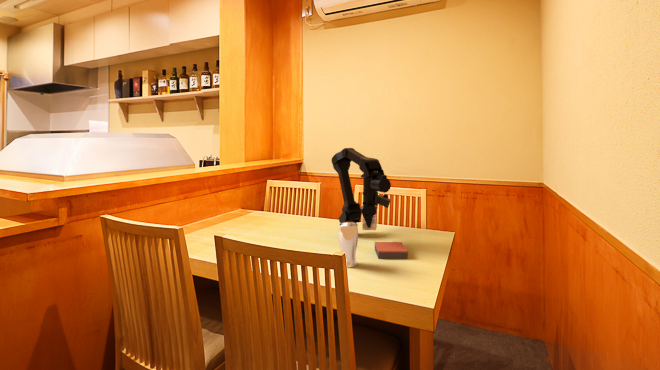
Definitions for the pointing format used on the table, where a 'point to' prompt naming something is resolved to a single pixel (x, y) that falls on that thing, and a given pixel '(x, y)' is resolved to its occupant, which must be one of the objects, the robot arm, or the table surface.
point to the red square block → (391, 250)
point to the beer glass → (349, 241)
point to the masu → (373, 224)
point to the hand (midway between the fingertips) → (369, 225)
